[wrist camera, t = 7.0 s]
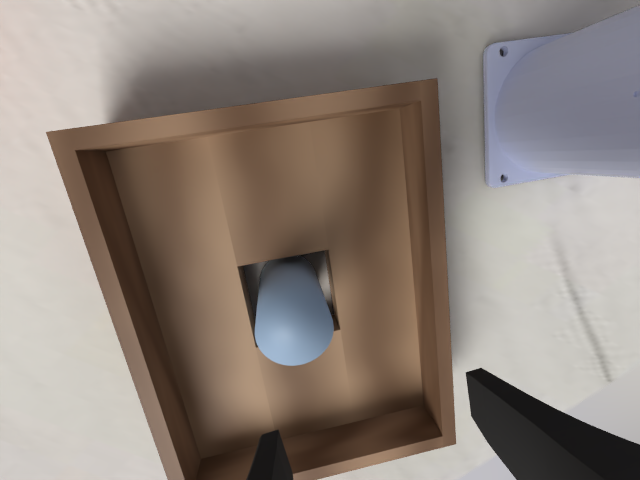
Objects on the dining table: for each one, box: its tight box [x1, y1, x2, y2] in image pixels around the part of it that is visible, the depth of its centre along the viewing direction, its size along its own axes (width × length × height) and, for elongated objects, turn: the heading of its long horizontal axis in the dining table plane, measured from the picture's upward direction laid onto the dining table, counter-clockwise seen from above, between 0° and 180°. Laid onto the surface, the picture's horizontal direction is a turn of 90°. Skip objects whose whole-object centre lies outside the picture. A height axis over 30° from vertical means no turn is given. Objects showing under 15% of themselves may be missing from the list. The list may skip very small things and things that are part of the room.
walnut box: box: [46, 78, 456, 480], centre depth 18 cm, size 16×20×4 cm
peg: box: [255, 255, 334, 366], centre depth 17 cm, size 4×4×6 cm
